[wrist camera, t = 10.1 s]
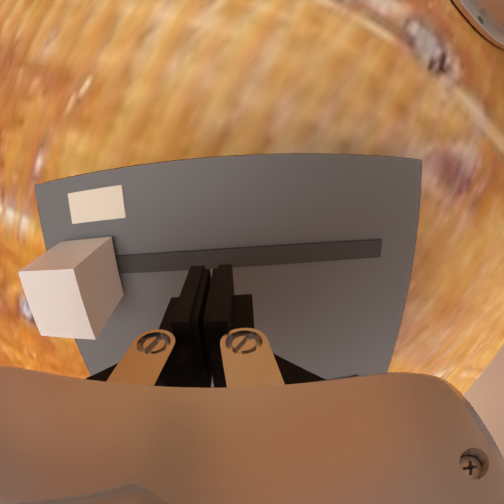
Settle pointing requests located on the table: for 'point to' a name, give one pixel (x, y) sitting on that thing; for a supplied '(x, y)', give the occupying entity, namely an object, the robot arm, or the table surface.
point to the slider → (73, 288)
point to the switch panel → (255, 247)
